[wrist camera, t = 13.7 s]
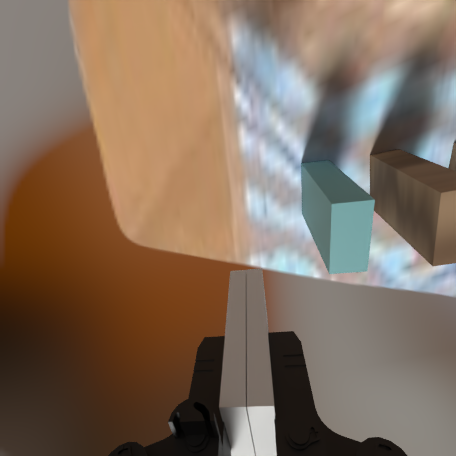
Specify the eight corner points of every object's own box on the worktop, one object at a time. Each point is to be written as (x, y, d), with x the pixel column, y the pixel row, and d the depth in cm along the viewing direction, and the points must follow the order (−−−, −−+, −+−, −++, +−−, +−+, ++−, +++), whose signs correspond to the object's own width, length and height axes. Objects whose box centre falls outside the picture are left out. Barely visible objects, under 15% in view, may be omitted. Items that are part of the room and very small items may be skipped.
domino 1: (301, 163, 25) (331, 204, 16) (328, 159, 25) (374, 199, 16) (302, 213, 27) (329, 274, 18) (327, 211, 27) (367, 271, 18)
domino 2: (370, 154, 24) (441, 192, 15) (399, 149, 24) (489, 184, 15) (370, 206, 27) (432, 266, 18) (396, 202, 26) (474, 260, 17)
